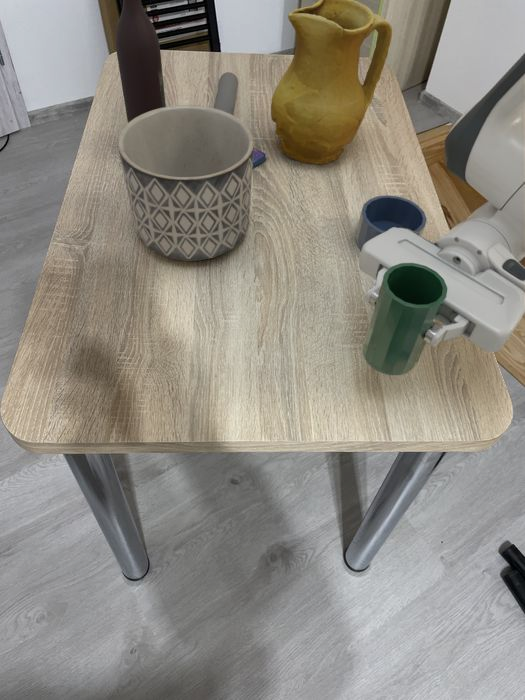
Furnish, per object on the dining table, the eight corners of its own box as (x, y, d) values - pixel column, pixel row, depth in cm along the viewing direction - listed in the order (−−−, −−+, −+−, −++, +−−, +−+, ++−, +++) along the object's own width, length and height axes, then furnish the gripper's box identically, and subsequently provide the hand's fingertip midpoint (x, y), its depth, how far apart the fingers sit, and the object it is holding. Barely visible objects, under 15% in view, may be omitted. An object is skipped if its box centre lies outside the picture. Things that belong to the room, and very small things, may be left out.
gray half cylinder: (238, 80, 122) (238, 72, 121) (231, 126, 110) (231, 117, 109) (219, 79, 122) (219, 71, 121) (211, 124, 110) (210, 116, 109)
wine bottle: (174, 161, 102) (156, -24, 78) (136, 166, 100) (107, -21, 76) (165, 141, 106) (146, -41, 82) (129, 146, 104) (99, -38, 80)
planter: (199, 182, 98) (194, 92, 85) (274, 233, 90) (281, 143, 77) (110, 227, 89) (90, 134, 76) (185, 289, 81) (177, 197, 68)
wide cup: (420, 230, 92) (430, 203, 88) (412, 269, 86) (421, 242, 82) (362, 216, 94) (368, 189, 89) (349, 253, 88) (355, 226, 83)
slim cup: (420, 340, 68) (450, 271, 59) (413, 382, 64) (443, 314, 55) (368, 326, 69) (389, 256, 60) (357, 366, 65) (377, 298, 56)
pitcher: (279, 114, 113) (295, -21, 93) (365, 135, 111) (402, 2, 91) (256, 161, 103) (269, 20, 83) (351, 185, 101) (388, 47, 81)
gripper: (403, 204, 69) (333, 252, 63) (551, 287, 61) (488, 353, 54) (392, 242, 74) (326, 291, 68) (527, 324, 66) (467, 388, 59)
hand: (399, 319), depth 61 cm, fingers closed on slim cup, 7 cm apart
